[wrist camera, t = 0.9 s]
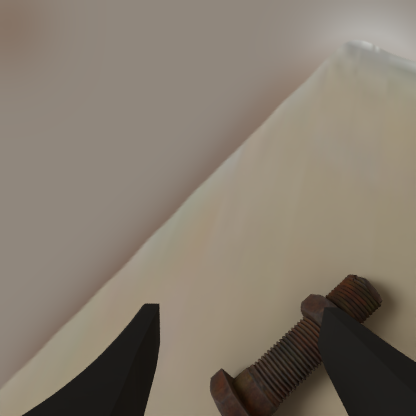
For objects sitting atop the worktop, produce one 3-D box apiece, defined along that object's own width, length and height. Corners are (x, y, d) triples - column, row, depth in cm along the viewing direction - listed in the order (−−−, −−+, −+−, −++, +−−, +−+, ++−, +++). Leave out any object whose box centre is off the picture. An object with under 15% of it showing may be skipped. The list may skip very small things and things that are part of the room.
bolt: (357, 297, 27) (237, 411, 24) (328, 257, 26) (203, 370, 24) (413, 323, 21) (265, 476, 19) (379, 272, 20) (220, 424, 18)
